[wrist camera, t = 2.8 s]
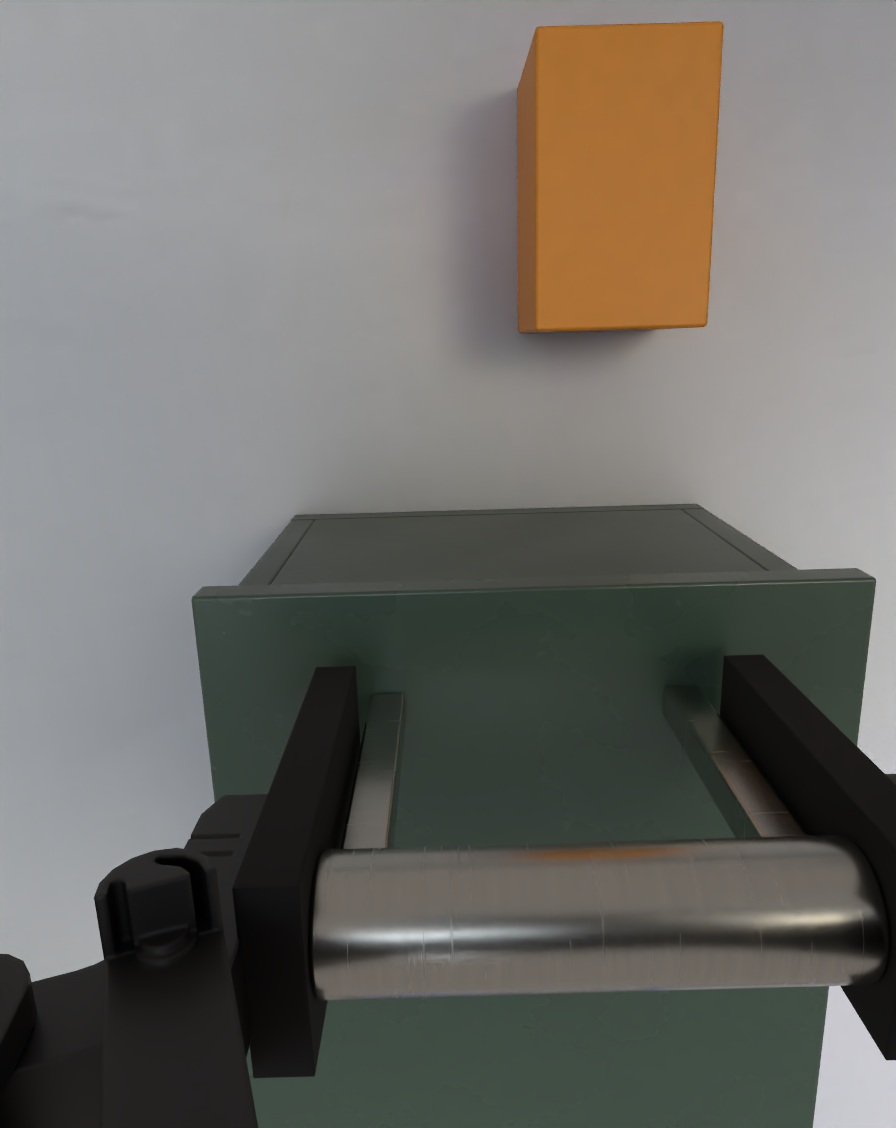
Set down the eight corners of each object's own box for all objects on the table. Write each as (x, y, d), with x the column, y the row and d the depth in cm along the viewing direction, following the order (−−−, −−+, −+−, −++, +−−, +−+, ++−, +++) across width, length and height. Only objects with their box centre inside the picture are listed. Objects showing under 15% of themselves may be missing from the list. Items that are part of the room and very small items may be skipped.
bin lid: (201, 585, 17) (-3, 796, 9) (858, 566, 17) (1212, 762, 9) (262, 1129, 21) (154, 1604, 13) (798, 1113, 21) (1013, 1580, 13)
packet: (516, 87, 24) (535, 24, 19) (668, 83, 24) (724, 20, 19) (517, 333, 26) (534, 331, 21) (659, 328, 26) (708, 326, 21)
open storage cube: (294, 514, 28) (206, 621, 17) (698, 503, 28) (853, 603, 17) (322, 864, 31) (262, 1127, 21) (678, 854, 31) (797, 1111, 21)
